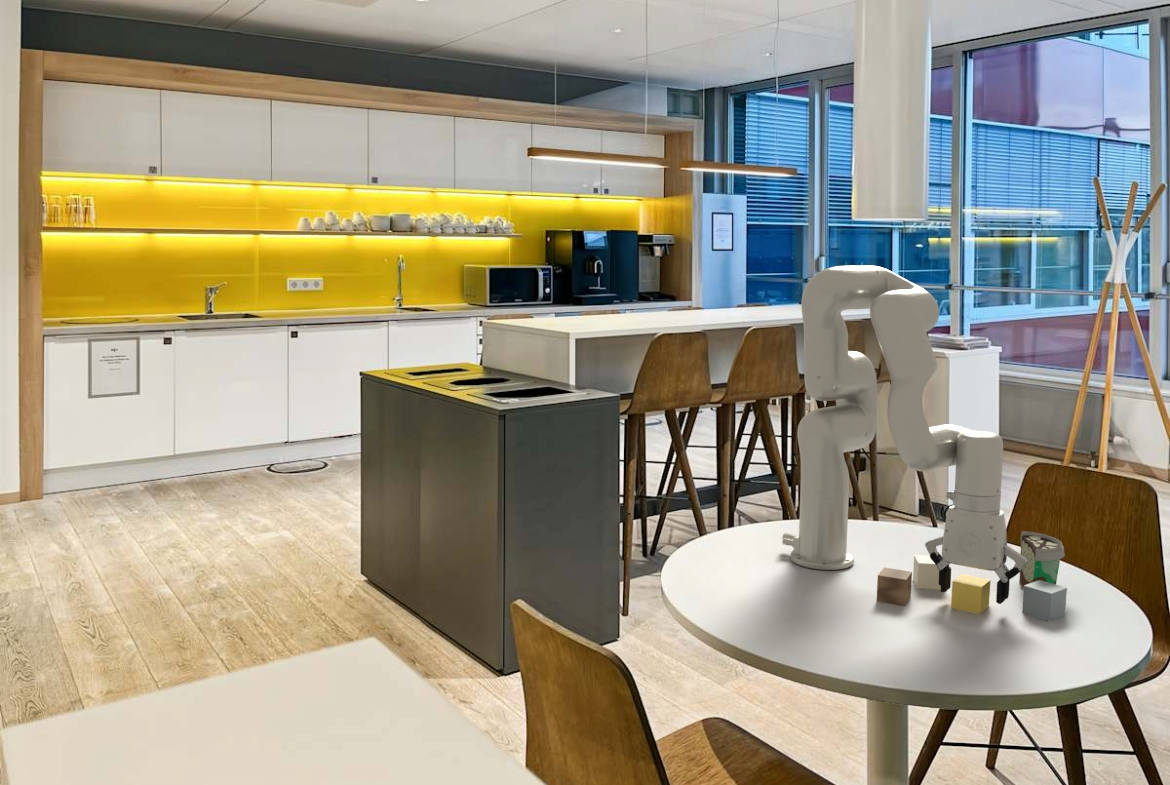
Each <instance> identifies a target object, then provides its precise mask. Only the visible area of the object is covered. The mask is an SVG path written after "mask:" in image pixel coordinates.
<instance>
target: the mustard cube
mask: <svg viewBox="0 0 1170 785" xmlns="http://www.w3.org/2000/svg"><path fill="white" fill-rule="evenodd" d="M990 593H991V579H988V578H983V577H978V576H975V575H974V576H973V575H969V574H964V573H961V574H960V575H959V576H957V577H956V578H955V579H953V580H951V600H950V601H951V602H950V608H952V609H955V610H960V611H963V612H969V613H973V614H977V615H981V614H982V613H983V612H984V611H985V610H987V609H988V608H989V607H990V595H991V594H990Z"/></svg>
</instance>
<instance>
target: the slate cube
mask: <svg viewBox="0 0 1170 785" xmlns="http://www.w3.org/2000/svg"><path fill="white" fill-rule="evenodd" d="M1067 590H1068V588H1067V587H1065V586H1063V585H1059V584H1057V583H1056V584H1052V583H1049V582H1045V581H1042V580H1038V581H1035V582H1032V583H1030V584H1027V585H1024V590H1023V593H1022V596H1023V597H1022V608H1021V612H1022V613H1024V614H1026V615H1029V616H1032V617H1036V618H1038V619H1040V620H1046V621H1048V622H1051V621H1054V620H1056V619H1058V618H1060V617H1063V616H1065V614H1066V605H1067V593H1068V592H1067Z"/></svg>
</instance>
